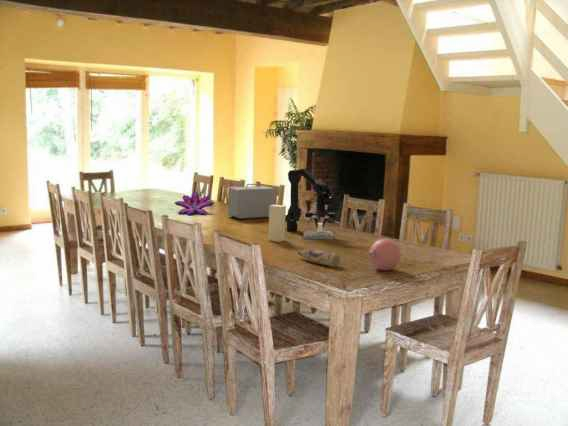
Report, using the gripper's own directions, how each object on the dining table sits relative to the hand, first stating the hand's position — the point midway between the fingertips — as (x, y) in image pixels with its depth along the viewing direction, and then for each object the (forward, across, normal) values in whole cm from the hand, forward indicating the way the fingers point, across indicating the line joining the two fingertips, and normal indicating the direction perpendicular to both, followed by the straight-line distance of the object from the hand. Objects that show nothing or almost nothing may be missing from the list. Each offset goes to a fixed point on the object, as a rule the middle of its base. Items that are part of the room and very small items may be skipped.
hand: (319, 228), depth 367 cm
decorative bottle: (+5, -5, -70) cm, 70 cm away
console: (+5, -1, 0) cm, 5 cm away
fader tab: (+3, 0, 0) cm, 3 cm away
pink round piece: (+5, +24, -83) cm, 86 cm away
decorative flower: (+6, -89, +82) cm, 121 cm away
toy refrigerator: (+5, -27, -15) cm, 31 cm away
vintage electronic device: (+6, -45, +69) cm, 82 cm away
